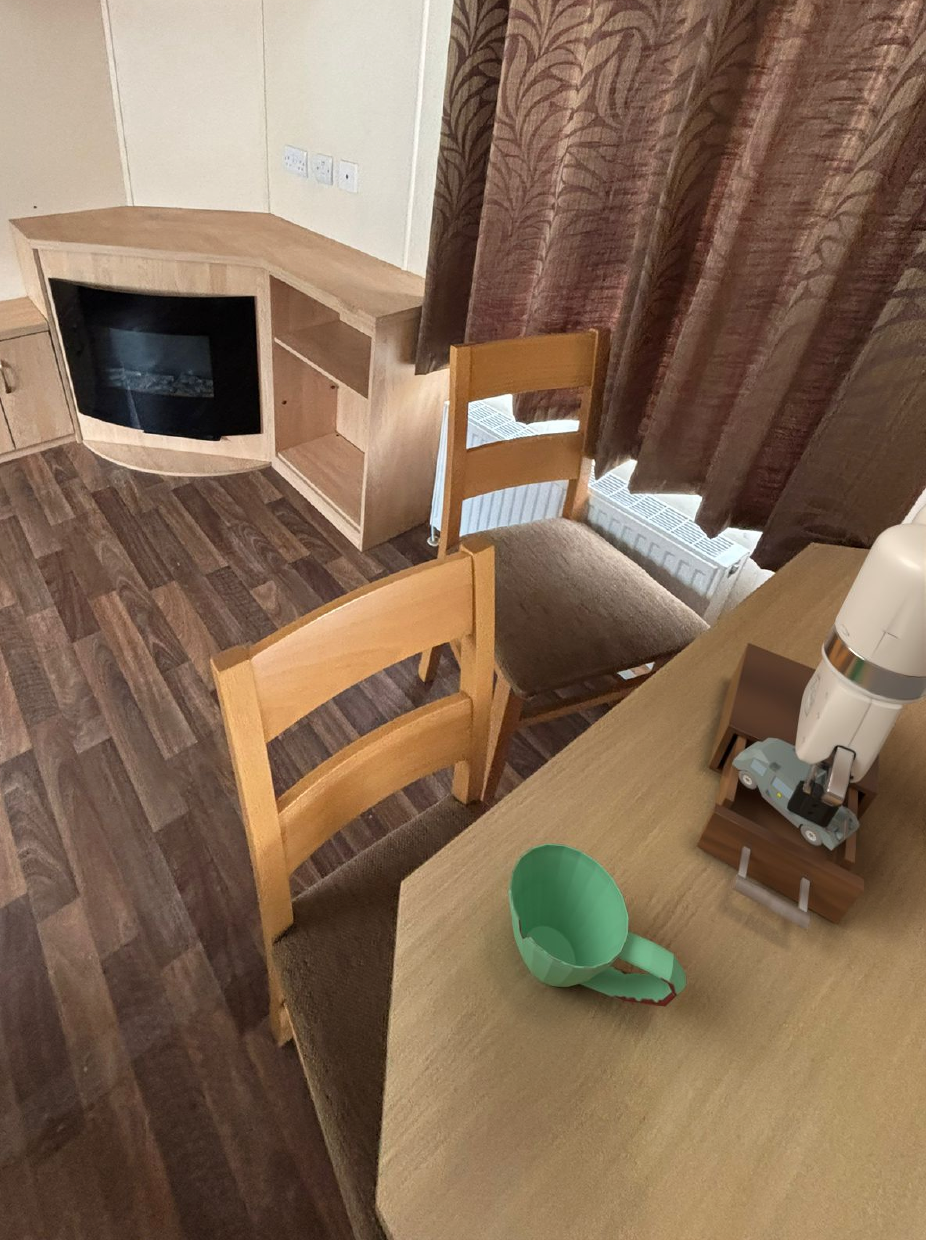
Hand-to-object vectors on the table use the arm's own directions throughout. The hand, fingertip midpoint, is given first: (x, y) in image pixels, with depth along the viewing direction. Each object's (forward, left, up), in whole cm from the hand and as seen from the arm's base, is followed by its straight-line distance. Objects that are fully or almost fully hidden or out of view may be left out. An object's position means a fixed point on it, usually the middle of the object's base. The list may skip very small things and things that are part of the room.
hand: (810, 776), depth 67 cm
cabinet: (-4, -11, -11) cm, 16 cm away
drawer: (+1, +2, -10) cm, 10 cm away
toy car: (0, 0, -4) cm, 4 cm away
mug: (+21, +18, -11) cm, 30 cm away
